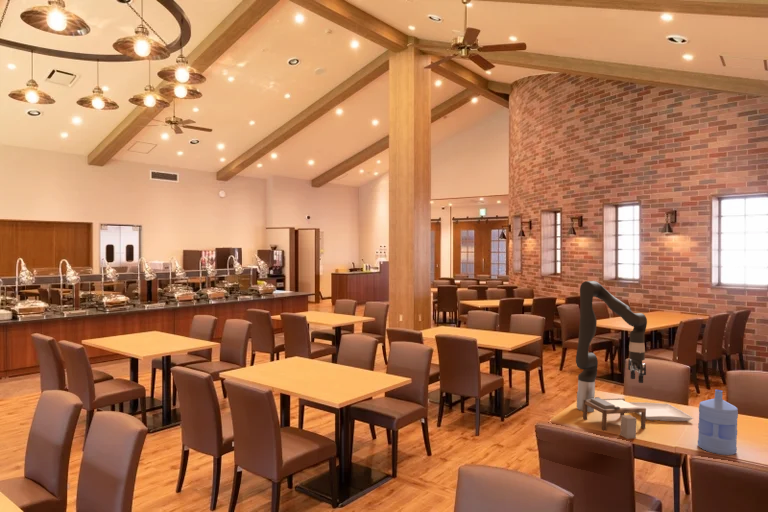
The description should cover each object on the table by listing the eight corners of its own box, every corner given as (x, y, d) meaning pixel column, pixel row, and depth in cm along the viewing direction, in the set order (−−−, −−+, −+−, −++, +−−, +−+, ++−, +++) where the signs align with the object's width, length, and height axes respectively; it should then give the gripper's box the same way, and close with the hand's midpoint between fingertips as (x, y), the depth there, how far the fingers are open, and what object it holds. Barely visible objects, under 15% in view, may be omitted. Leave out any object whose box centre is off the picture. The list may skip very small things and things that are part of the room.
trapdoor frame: (603, 430, 271) (604, 408, 270) (583, 418, 289) (583, 397, 289) (645, 428, 275) (646, 406, 275) (622, 416, 294) (623, 396, 293)
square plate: (694, 424, 285) (694, 417, 285) (643, 422, 286) (643, 415, 286) (668, 408, 312) (668, 402, 312) (622, 407, 313) (622, 401, 313)
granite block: (620, 435, 264) (620, 415, 264) (629, 434, 265) (629, 415, 265) (626, 438, 259) (627, 418, 259) (635, 438, 260) (636, 418, 260)
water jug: (700, 440, 259) (702, 384, 259) (738, 448, 249) (740, 390, 249) (694, 449, 247) (696, 390, 247) (734, 458, 237) (736, 397, 237)
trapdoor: (605, 413, 273) (606, 405, 273) (590, 405, 287) (590, 398, 287) (638, 412, 277) (638, 404, 277) (621, 404, 291) (621, 396, 291)
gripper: (623, 348, 287) (623, 377, 287) (636, 353, 273) (636, 384, 273) (637, 348, 287) (637, 377, 287) (650, 353, 273) (650, 384, 273)
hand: (636, 380), depth 280 cm, fingers open, 8 cm apart
